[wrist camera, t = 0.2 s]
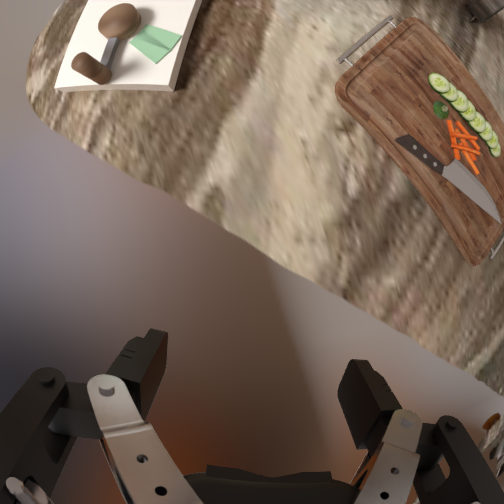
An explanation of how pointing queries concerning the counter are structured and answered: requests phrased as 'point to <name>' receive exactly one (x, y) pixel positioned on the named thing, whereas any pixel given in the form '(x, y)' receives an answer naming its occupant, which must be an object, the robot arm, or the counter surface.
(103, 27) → the crank handle
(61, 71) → the white square slab
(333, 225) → the counter surface
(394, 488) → the robot arm
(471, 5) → the alarm clock
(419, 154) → the chopping board
